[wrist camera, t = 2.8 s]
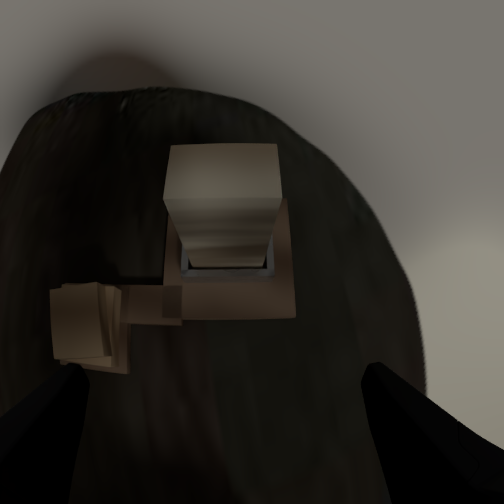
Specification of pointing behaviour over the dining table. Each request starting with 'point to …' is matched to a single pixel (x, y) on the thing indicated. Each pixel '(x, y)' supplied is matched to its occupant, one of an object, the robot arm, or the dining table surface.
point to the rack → (208, 291)
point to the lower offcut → (113, 321)
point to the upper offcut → (80, 322)
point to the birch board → (224, 202)
